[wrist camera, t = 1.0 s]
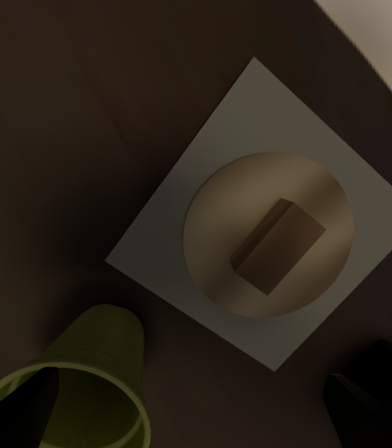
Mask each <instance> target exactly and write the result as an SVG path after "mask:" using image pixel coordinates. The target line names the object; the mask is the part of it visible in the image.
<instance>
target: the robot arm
mask: <svg viewBox="0 0 392 448" xmlns="http://www.w3.org/2000/svg"><path fill="white" fill-rule="evenodd" d="M58 394H59V369H58V367H43V368H42V369H40V370H39V371H38V372H36V373H35V374H34V375H33V376H31V377H30V378H29V379H28V380H26V381H25V382H24V383H23V384H21V385H20V386H19V387H17V388H16V389H15V390H14V391H12V392H11V393H10V394H9V395H7V396H6V397H5V398H4V399H2V400H1V401H0V448H39V446H40V443H41V441H42V438H43V435H44V432H45V430H46V427H47V424H48V422H49V419H50V416H51V413H52V411H53V408H54V405H55V402H56V400H57V397H58ZM322 395H323V400H324V403H325V405H326V407H327V410H328V412H329V415H330V417H331V420H332V422H333V425H334V427H335V430H336V432H337V435H338V437H339V440H340V442H341V445H342V447H343V448H392V346H391V345H390V344H389V343H387V342H386V341H380V342H379V343H378V344H377V345H376V346H375V347H374V348H373V349H372V350H371V351H370V352H369V353H368V354H366V355H365V356H364V357H363V358H362V359H361V360H360V361H359V362H358V363H357V364H356V365H355V366H354V367H353V368H352V369H351V370H350V371H349V372H348V373H347V374H346V375H345V376H343V375H341V374H329V375H328V376H327V378H326V382H325V385H324V388H323V393H322Z"/></svg>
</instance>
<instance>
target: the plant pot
mask: <svg viewBox="0 0 392 448" xmlns="http://www.w3.org/2000/svg"><path fill="white" fill-rule="evenodd" d="M143 357H144V330H143V326H142V324H141V322H140V320H139V319H138V317H137V316H136V315H135V314H134V313H133V312H131V311H130V310H128V309H126V308H120V307H117V306H113V305H111V304H101V305H96V306H94V307H91V308H89V309H88V310H86V311H85V312H84V313H82V314H81V315H80V316H79V317H78V318H77V319H76V320H75V321H74V322H73V323H72V324H71V325H70V326H69V327H68V328H67V329H66V330H65V331H64V332H63V333H62V334H61V335H60V336H59V337H58V338H57V339H56V340H55V341H54V342H53V343H52V344H51V345H50V346H49V347H48V348H47V349H46V350H44V351H43V352H42V353H41V354H40V355H39V356H38V357H37V358H35V359H33V360H31V361H30V362H28V363H27V364H26V365H24V366H21V367H19V368H17V369H15V370H13V371H12V372H10V373H8V374H7V375H5V376H4V377H3V378H2V379H0V401H1V400H2V399H4V398H5V397H6V396H7V395H9V394H10V393H11V392H12V391H14V390H15V389H16V388H17V387H19V386H20V385H21V384H23V383H24V382H25V381H26V380H28V379H29V378H30V377H31V376H33V375H34V374H35V373H36V372H38V371H39V370H40V369H42V368H43V367H58V369H59V394H58V397H57V400H56V402H55V405H54V408H53V411H52V413H51V416H50V419H49V422H48V424H47V427H46V430H45V432H44V435H43V438H42V441H41V443H40V446H39V448H149V444H150V436H151V424H150V418H149V414H148V411H147V408H146V406H145V400H144V396H143V392H142V385H143Z"/></svg>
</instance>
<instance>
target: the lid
mask: <svg viewBox="0 0 392 448" xmlns="http://www.w3.org/2000/svg"><path fill="white" fill-rule="evenodd" d="M353 232H354V226H353V215H352V210H351V206H350V203H349V200H348V198H347V196H346V194H345V192H344V190H343V188H342V187H341V185H340V184H339V182H338V181H337V180H336V179H335V178H334V177H333V176H332V175H331V173H330V172H329V171H327V170H326V169H325V168H323V167H322V166H321V165H319V164H317V163H316V162H314V161H312V160H310V159H308V158H305V157H302V156H300V155H295V154H291V153H283V152H268V153H259V154H254V155H249V156H246V157H243V158H241V159H238V160H236V161H234V162H232V163H230V164H228V165H226V166H225V167H223V168H222V169H220V170H219V171H217V172H216V173H215V174H214V175H213V176H212V177H210V178H209V179H208V180H207V181H206V183H205V184H204V185H203V186H202V187H201V188H200V190H199V191H198V193H197V194H196V196H195V197H194V199H193V201H192V203H191V205H190V207H189V210H188V213H187V216H186V220H185V225H184V233H183V248H184V256H185V260H186V264H187V267H188V270H189V272H190V275H191V276H192V278H193V280H194V282H195V283H196V285H197V286H198V288H199V289H200V290H201V291H202V292H203V293H204V294H205V295H206V296H207V297H208V298H209V299H210V300H211V301H213V302H214V303H215V304H217V305H218V306H220V307H222V308H223V309H225V310H228V311H230V312H232V313H235V314H239V315H242V316H248V317H258V318H266V317H276V316H281V315H285V314H288V313H291V312H294V311H296V310H299V309H301V308H303V307H305V306H307V305H308V304H310V303H312V302H313V301H315V300H316V299H317V298H319V297H320V296H321V295H322V294H323V293H324V292H325V291H327V290H328V289H329V288H330V286H331V285H332V284H333V283H334V282H335V280H336V279H337V278H338V276H339V275H340V273H341V272H342V270H343V268H344V266H345V264H346V262H347V259H348V256H349V254H350V251H351V246H352V242H353Z"/></svg>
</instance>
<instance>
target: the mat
mask: <svg viewBox="0 0 392 448" xmlns="http://www.w3.org/2000/svg"><path fill="white" fill-rule="evenodd" d="M268 152H283V153H291V154H295V155H300V156H302V157H305V158H308V159H310V160H312V161H314V162H316V163H317V164H319V165H321V166H322V167H323V168H325V169H326V170H327V171H329V172H330V173H331V175H332V176H333V177H334V178H335V179H336V180H337V181H338V182H339V184H340V185H341V187H342V188H343V190H344V192H345V194H346V196H347V198H348V200H349V203H350V206H351V210H352V215H353V226H354V232H353V242H352V246H351V251H350V254H349V256H348V259H347V262H346V264H345V266H344V268H343V270H342V272H341V273H340V275H339V276H338V278H337V279H336V280H335V282H334V283H333V284H332V285H331V286H330V288H329V289H328V290H327V291H325V292H324V293H323V294H322V295H321V296H320V297H319V298H317V299H316V300H315V301H313V302H312V303H310V304H308V305H307V306H305V307H303V308H301V309H299V310H296V311H294V312H291V313H288V314H285V315H281V316H276V317H266V318H258V317H248V316H242V315H239V314H235V313H232V312H230V311H228V310H225V309H223V308H222V307H220V306H218V305H217V304H215V303H214V302H213V301H211V300H210V299H209V298H208V297H207V296H206V295H205V294H204V293H203V292H202V291H201V290H200V289H199V288H198V286H197V285H196V283H195V282H194V280H193V278H192V276H191V275H190V272H189V270H188V267H187V264H186V260H185V256H184V248H183V233H184V225H185V220H186V216H187V213H188V210H189V207H190V205H191V203H192V201H193V199H194V197H195V196H196V194H197V193H198V191H199V190H200V188H201V187H202V186H203V185H204V184H205V183H206V181H207V180H208V179H209V178H210V177H212V176H213V175H214V174H215V173H216V172H217V171H219V170H220V169H222V168H223V167H225V166H226V165H228V164H230V163H232V162H234V161H236V160H238V159H241V158H243V157H246V156H249V155H254V154H259V153H268ZM391 250H392V186H391V185H390V184H389V183H388V182H387V181H386V180H385V179H383V178H382V177H381V176H380V175H379V174H378V173H377V172H376V171H375V170H374V169H373V168H372V167H371V166H370V165H369V164H368V163H366V162H365V161H364V160H363V159H362V158H361V157H360V156H359V155H358V154H357V153H356V152H355V151H354V150H353V149H352V148H351V147H349V146H348V145H347V144H346V143H345V142H344V141H343V140H342V139H341V138H340V137H339V136H338V135H337V134H336V133H335V132H334V131H332V130H331V129H330V128H329V127H328V126H327V125H326V124H325V123H324V122H323V121H322V120H321V119H320V118H319V117H318V116H317V115H315V114H314V113H313V112H312V111H311V110H310V109H309V108H308V107H307V106H306V105H305V104H304V103H303V102H302V101H301V100H300V99H298V98H297V97H296V96H295V95H294V94H293V93H292V92H291V91H290V90H289V89H288V88H287V87H286V86H285V85H284V84H283V83H281V82H280V81H279V80H278V79H277V78H276V77H275V76H274V75H273V74H272V73H271V72H270V71H269V70H268V69H267V68H266V67H264V66H263V65H262V64H261V63H260V62H259V61H258V60H257V59H256V58H255V57H254V58H253V59H252V60H251V62H250V63H249V64H248V66H247V67H246V69H245V70H244V71H243V73H242V74H241V75H240V77H239V78H238V79H237V81H236V82H235V84H234V85H233V86H232V88H231V89H230V90H229V92H228V93H227V94H226V96H225V97H224V99H223V100H222V101H221V103H220V104H219V105H218V107H217V108H216V109H215V111H214V112H213V114H212V115H211V116H210V118H209V119H208V120H207V122H206V123H205V124H204V126H203V127H202V129H201V130H200V131H199V133H198V134H197V135H196V137H195V138H194V139H193V141H192V142H191V144H190V145H189V146H188V148H187V149H186V150H185V152H184V153H183V155H182V156H181V157H180V159H179V160H178V161H177V163H176V164H175V165H174V167H173V168H172V170H171V171H170V172H169V174H168V175H167V176H166V178H165V179H164V180H163V182H162V183H161V185H160V186H159V187H158V189H157V190H156V191H155V193H154V194H153V195H152V197H151V198H150V200H149V201H148V202H147V204H146V205H145V206H144V208H143V209H142V210H141V212H140V213H139V215H138V216H137V217H136V219H135V220H134V221H133V223H132V224H131V225H130V227H129V228H128V230H127V231H126V232H125V234H124V235H123V236H122V238H121V239H120V241H119V242H118V243H117V245H116V246H115V247H114V249H113V250H112V251H111V253H110V254H109V256H108V257H107V258H106V260H105V261H106V262H107V263H109V264H110V265H112V266H113V267H115V268H116V269H118V270H119V271H121V272H122V273H124V274H126V275H127V276H129V277H130V278H132V279H133V280H135V281H136V282H138V283H139V284H141V285H142V286H144V287H145V288H147V289H149V290H150V291H152V292H153V293H155V294H156V295H158V296H159V297H161V298H162V299H164V300H165V301H167V302H168V303H170V304H172V305H173V306H175V307H176V308H178V309H179V310H181V311H182V312H184V313H185V314H187V315H188V316H190V317H192V318H193V319H195V320H196V321H198V322H199V323H201V324H202V325H204V326H205V327H207V328H208V329H210V330H211V331H213V332H215V333H216V334H218V335H219V336H221V337H222V338H224V339H225V340H227V341H228V342H230V343H231V344H233V345H234V346H236V347H238V348H239V349H241V350H242V351H244V352H245V353H247V354H248V355H250V356H251V357H253V358H254V359H256V360H258V361H259V362H261V363H262V364H264V365H265V366H267V367H268V368H270V369H271V370H273V371H274V372H275V371H276V370H277V369H278V368H279V366H280V365H281V364H282V363H283V362H284V361H285V360H286V359H287V358H288V357H289V356H290V355H291V354H292V353H293V352H294V351H295V350H296V349H297V348H298V347H299V346H300V345H301V344H302V343H303V342H304V341H305V339H306V338H307V337H308V336H309V335H310V334H311V333H312V332H313V331H314V330H315V329H316V328H317V327H318V326H319V325H320V324H321V323H322V322H323V321H324V320H325V319H326V318H327V317H328V316H329V315H330V314H331V312H332V311H333V310H334V309H335V308H336V307H337V306H338V305H339V304H340V303H341V302H342V301H343V300H344V299H345V298H346V297H347V296H348V295H349V294H350V293H351V292H352V291H353V290H354V289H355V288H356V287H357V285H358V284H359V283H360V282H361V281H362V280H363V279H364V278H365V277H366V276H367V275H368V274H369V273H370V272H371V271H372V270H373V269H374V268H375V267H376V266H377V265H378V264H379V263H380V262H381V261H382V260H383V258H384V257H385V256H386V255H387V254H388V253H389V252H390V251H391Z"/></svg>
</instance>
